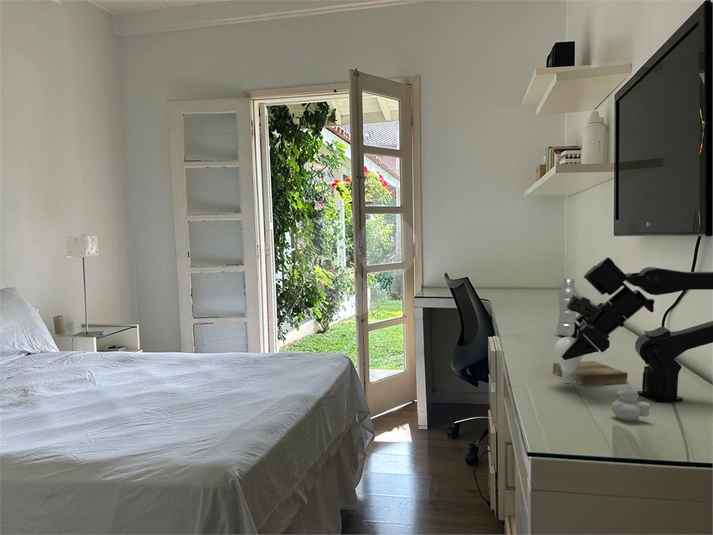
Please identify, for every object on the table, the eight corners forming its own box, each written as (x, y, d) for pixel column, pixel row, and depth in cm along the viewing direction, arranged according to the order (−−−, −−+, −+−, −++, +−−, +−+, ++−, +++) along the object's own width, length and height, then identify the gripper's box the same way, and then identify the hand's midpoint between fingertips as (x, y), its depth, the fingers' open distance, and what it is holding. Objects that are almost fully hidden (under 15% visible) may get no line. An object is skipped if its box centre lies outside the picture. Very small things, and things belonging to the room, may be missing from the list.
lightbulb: (564, 389, 119) (566, 340, 118) (547, 381, 125) (549, 334, 124) (589, 387, 120) (590, 338, 120) (570, 379, 126) (572, 333, 126)
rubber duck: (611, 413, 106) (612, 373, 105) (648, 418, 103) (650, 378, 102) (610, 421, 101) (612, 380, 100) (650, 427, 98) (652, 385, 98)
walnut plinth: (626, 383, 127) (627, 373, 127) (583, 386, 125) (583, 375, 125) (593, 370, 139) (594, 361, 139) (553, 372, 136) (553, 363, 136)
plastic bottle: (552, 335, 187) (554, 279, 186) (566, 334, 190) (568, 278, 189) (566, 338, 182) (568, 280, 180) (581, 337, 184) (583, 280, 183)
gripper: (586, 280, 129) (536, 322, 133) (594, 287, 111) (537, 336, 115) (621, 314, 127) (569, 356, 131) (635, 327, 109) (575, 375, 113)
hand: (562, 355), depth 122 cm, fingers closed on lightbulb, 6 cm apart
